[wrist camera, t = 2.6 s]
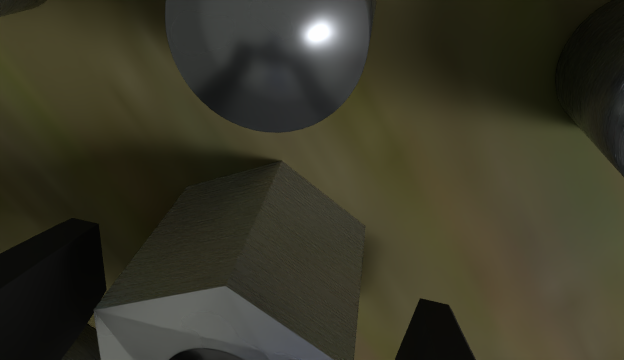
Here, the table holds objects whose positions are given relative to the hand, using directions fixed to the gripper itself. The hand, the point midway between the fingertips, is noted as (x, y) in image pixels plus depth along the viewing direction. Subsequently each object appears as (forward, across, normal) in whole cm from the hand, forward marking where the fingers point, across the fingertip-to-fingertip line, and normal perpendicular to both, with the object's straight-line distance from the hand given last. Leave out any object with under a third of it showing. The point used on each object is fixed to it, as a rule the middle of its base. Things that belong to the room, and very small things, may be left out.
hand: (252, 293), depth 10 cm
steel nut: (+2, 0, 0) cm, 2 cm away
